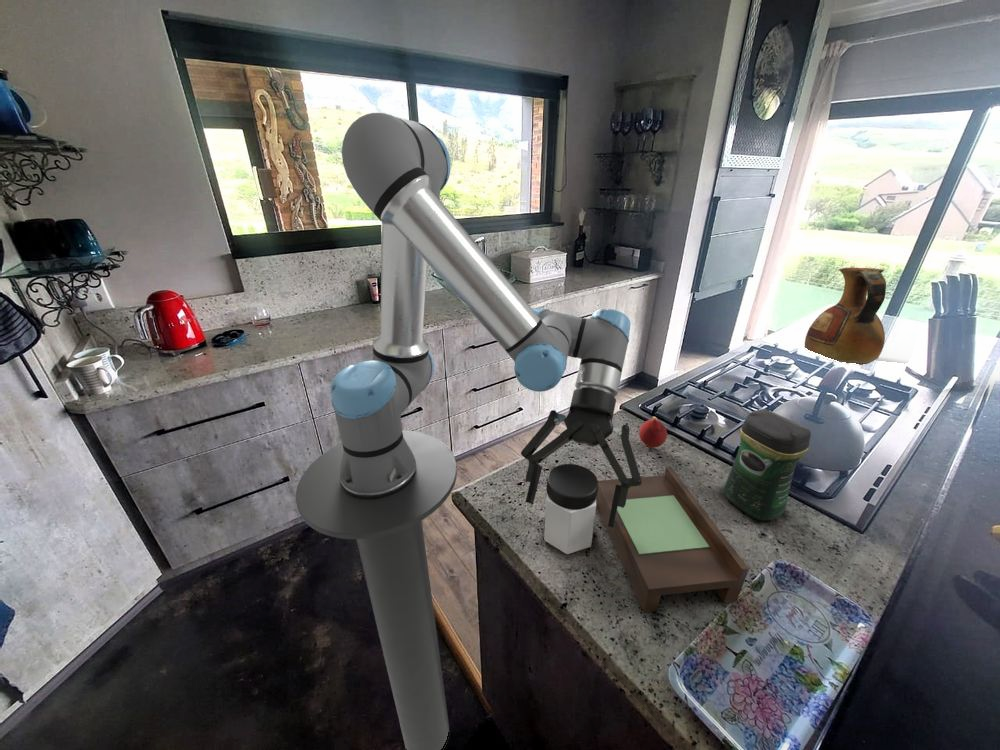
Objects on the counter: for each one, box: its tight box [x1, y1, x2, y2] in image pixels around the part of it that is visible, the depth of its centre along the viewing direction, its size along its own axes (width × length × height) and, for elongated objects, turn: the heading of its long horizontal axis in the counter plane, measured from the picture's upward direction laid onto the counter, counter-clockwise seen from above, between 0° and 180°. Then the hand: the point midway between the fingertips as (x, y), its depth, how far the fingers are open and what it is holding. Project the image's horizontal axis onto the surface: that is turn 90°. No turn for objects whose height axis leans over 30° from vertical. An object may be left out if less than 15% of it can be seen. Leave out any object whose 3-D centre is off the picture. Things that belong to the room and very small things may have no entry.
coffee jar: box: [722, 408, 812, 522], centre depth 71 cm, size 10×8×19 cm
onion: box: [638, 416, 668, 449], centre depth 90 cm, size 6×6×8 cm
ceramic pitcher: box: [804, 266, 887, 366], centre depth 127 cm, size 20×20×30 cm
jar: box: [543, 463, 599, 555], centre depth 67 cm, size 9×8×12 cm
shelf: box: [596, 466, 750, 613], centre depth 66 cm, size 22×14×7 cm, turn 6°
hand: (568, 514), depth 66 cm, fingers open, 13 cm apart
